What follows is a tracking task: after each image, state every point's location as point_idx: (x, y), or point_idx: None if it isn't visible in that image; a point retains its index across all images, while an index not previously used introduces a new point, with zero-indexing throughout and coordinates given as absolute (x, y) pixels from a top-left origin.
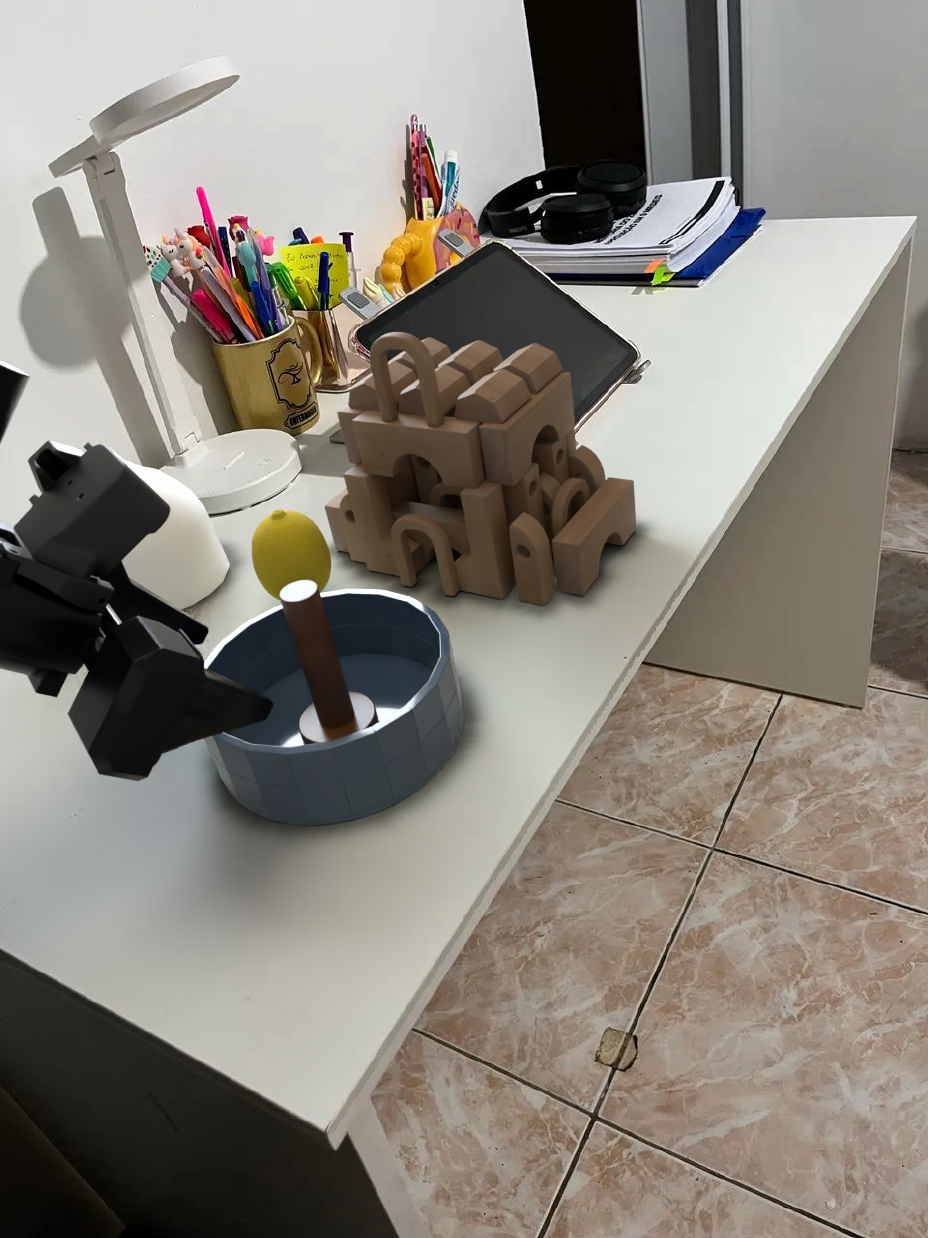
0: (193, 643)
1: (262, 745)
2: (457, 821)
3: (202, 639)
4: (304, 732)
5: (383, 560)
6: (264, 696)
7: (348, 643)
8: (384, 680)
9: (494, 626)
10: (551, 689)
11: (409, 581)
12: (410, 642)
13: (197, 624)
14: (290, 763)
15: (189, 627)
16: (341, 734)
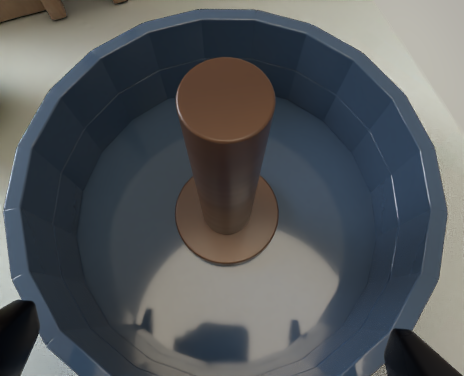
0: (29, 348)
1: (353, 366)
2: None
3: (36, 324)
4: (220, 258)
5: (2, 2)
6: (408, 341)
7: (116, 122)
8: None
9: (209, 7)
10: (340, 33)
11: (63, 10)
12: None
13: (13, 323)
14: None
15: (6, 346)
16: (263, 225)
